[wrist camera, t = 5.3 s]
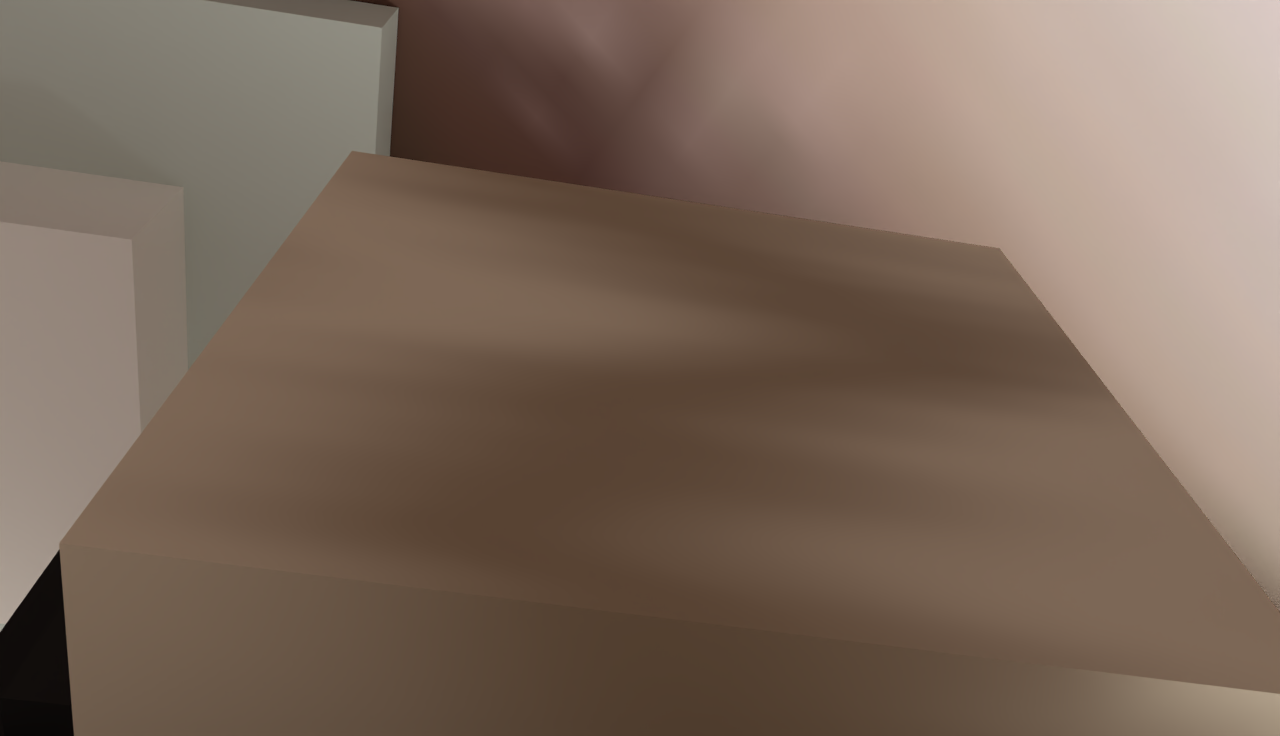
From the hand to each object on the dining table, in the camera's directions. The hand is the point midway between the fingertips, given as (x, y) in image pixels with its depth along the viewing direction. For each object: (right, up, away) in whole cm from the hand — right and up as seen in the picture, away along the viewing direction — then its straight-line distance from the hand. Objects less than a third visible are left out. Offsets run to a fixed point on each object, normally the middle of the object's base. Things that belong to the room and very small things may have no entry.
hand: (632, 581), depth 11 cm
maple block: (0, +1, +2) cm, 2 cm away
